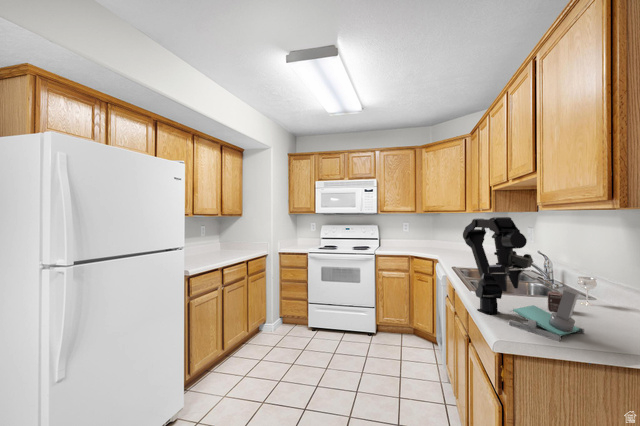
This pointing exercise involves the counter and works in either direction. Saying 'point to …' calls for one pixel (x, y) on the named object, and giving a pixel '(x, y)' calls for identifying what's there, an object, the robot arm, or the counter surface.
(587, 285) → the wineglass
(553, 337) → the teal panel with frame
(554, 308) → the box
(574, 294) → the gray metal handle
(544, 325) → the trapdoor
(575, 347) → the counter surface
